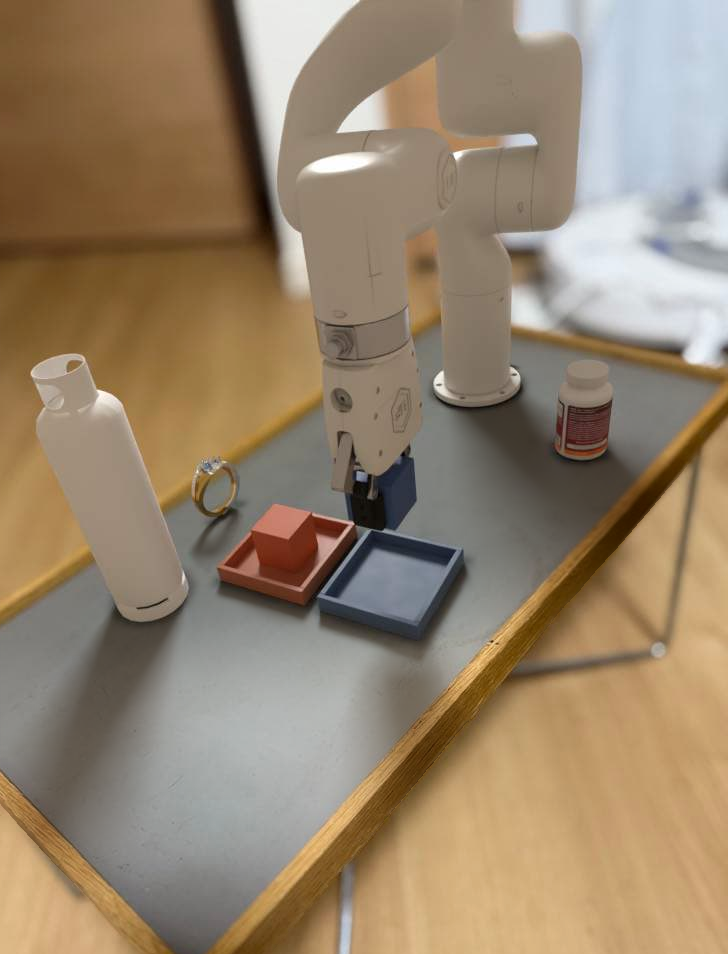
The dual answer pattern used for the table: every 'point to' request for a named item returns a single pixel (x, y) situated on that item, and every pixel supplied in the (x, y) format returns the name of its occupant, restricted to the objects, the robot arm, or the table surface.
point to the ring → (199, 491)
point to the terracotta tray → (283, 584)
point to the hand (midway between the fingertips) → (383, 507)
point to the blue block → (394, 491)
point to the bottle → (108, 489)
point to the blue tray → (392, 582)
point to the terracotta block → (285, 538)
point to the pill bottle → (584, 410)
